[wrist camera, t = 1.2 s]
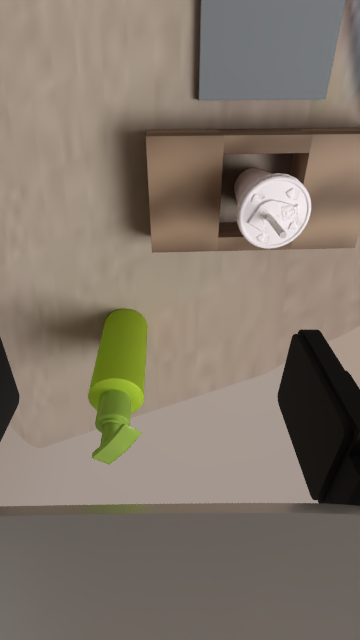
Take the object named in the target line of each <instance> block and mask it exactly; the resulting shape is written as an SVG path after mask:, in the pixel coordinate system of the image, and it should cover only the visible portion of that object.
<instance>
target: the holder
mask: <svg viewBox="0 0 360 640" xmlns="http://www.w3.org/2000/svg"><path fill="white" fill-rule="evenodd" d="M146 152H147V170H148V188H149V207H150V225H151V243H152V252H195V251H238V250H282V249H325V248H355V244H356V241H357V238H358V235H359V231H360V128H306V129H212V130H147V133H146ZM263 153H293V155H292V161H291V167H290V173H289V175H290V176H293V177H295V178H297V179H298V180H299V181H300V182H301V183H302V184H303V186H304V187H305V188H306V189H307V191H308V193H309V196H310V199H311V213H310V217H309V220H308V223H307V225H306V226H305V228H304V229H303V231H302V232H301V233H300V234H299V235H298V236H297V237H296V238H295V239H294V240H293V241H291V242H289V243H288V244H286V245H284V246H281V247H277V248H270V249H268V248H261V247H257V246H255V245H253V244H251V243H250V242H249V241H248V240H247V239H246V238H245V237H244V236H243V234H242V233H241V231H240V230H239V227H238V224H237V222H233V223H219V216H220V200H221V184H222V168H223V154H263Z"/></svg>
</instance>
